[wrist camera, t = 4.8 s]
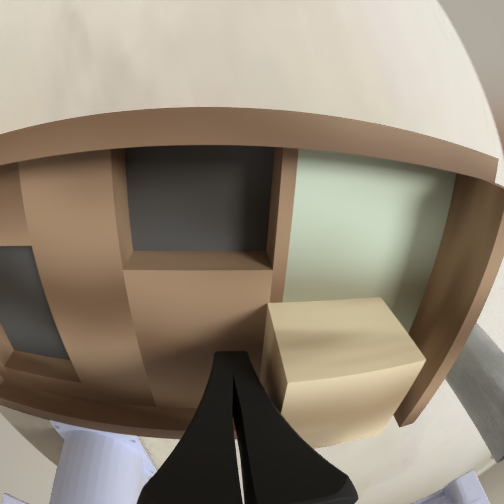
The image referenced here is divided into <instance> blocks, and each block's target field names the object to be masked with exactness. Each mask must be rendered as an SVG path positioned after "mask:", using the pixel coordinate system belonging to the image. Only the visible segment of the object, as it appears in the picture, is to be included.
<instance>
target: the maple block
mask: <svg viewBox="0 0 504 504" xmlns="http://www.w3.org/2000/svg"><path fill="white" fill-rule="evenodd" d="M425 361H426V358H425V357H424V356H423V354H422V353H421V351H420V350H419V348H418V347H417V346H416V344H415V343H414V341H413V340H412V339H411V337H410V336H409V334H408V333H407V332H406V330H405V329H404V328H403V326H402V325H401V323H400V322H399V321H398V319H397V318H396V317H395V315H394V314H393V313H392V311H391V310H390V309H389V307H388V306H387V305H386V303H385V302H384V301H383V300H382V298H381V297H374V298H360V299H345V300H328V301H308V302H283V303H267V314H266V324H265V334H264V344H263V354H262V364H261V373H260V382H261V384H262V386H263V387H264V389H265V391H266V392H267V394H268V396H269V397H270V399H271V400H272V402H273V403H274V405H275V406H276V408H277V409H278V411H279V412H280V413H281V415H282V416H283V417H284V418H285V420H286V421H287V422H288V423H289V424H290V426H291V427H292V428H293V429H294V430H295V431H296V432H297V433H298V435H299V436H300V437H301V438H302V439H303V440H304V441H305V442H306V443H308V444H309V445H310V446H311V447H312V448H313V449H314V448H320V447H326V446H331V445H336V444H341V443H346V442H350V441H355V440H359V439H363V438H367V437H371V436H375V435H378V434H380V433H381V432H382V430H383V429H384V427H385V426H386V425H387V423H388V422H389V420H390V419H391V417H392V416H393V414H394V413H395V411H396V410H397V408H398V407H399V405H400V404H401V402H402V401H403V399H404V397H405V396H406V394H407V393H408V391H409V389H410V388H411V386H412V384H413V383H414V381H415V379H416V378H417V376H418V374H419V372H420V371H421V369H422V367H423V365H424V363H425Z"/></svg>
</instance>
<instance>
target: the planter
mask: <svg viewBox="0 0 504 504" xmlns="http://www.w3.org/2000/svg"><path fill="white" fill-rule="evenodd" d="M445 379H446V381H447V382H448V384H449V385H450V387H451V388H452V390H453V391H454V393H455V394H456V396H457V397H458V399H459V400H460V402H461V403H462V405H463V407H464V408H465V410H466V411H467V413H468V415H469V416H470V418H471V419H472V421H473V423H474V424H475V426H476V428H477V429H478V431H479V433H480V434H481V436H482V438H483V440H484V441H485V443H486V445H487V446H488V448H489V450H490V452H491V454H492V455H493V457H494V459H495V461H496V462H497V463H500V462H501V461H503V460H504V353H503V352H502V351H501V349H500V348H499V347H498V346H497V345H496V344H495V343H494V341H493V340H492V339H491V338H490V337H489V336H488V335H487V334H486V332H485V331H484V330H483V329H482V328H481V327H480V326H479V325H478V324H477V323H476V324H475V326H474V328H473V330H472V332H471V333H470V335H469V337H468V339H467V341H466V343H465V345H464V347H463V348H462V350H461V352H460V354H459V356H458V357H457V359H456V361H455V362H454V364H453V366H452V367H451V369H450V371H449V372H448V374H447V376H446V377H445Z"/></svg>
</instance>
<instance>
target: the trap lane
mask: <svg viewBox="0 0 504 504" xmlns="http://www.w3.org/2000/svg"><path fill="white" fill-rule="evenodd" d="M497 166H498V158H495V157H492V156H490V155H487V154H484V153H481V152H479V151H476V150H473V149H470V148H467V147H464V146H461V145H458V144H454V143H451V142H448V141H444V140H441V139H438V138H434V137H430V136H427V135H423V134H419V133H415V132H411V131H407V130H403V129H399V128H394V127H390V126H385V125H380V124H375V123H370V122H365V121H359V120H353V119H347V118H341V117H335V116H328V115H320V114H312V113H304V112H294V111H283V110H271V109H255V108H230V107H184V108H160V109H145V110H132V111H122V112H113V113H104V114H97V115H90V116H83V117H77V118H71V119H65V120H60V121H54V122H49V123H45V124H40V125H35V126H31V127H27V128H23V129H19V130H15V131H11V132H7V133H4V134H0V405H2V406H5V407H8V408H11V409H14V410H17V411H20V412H23V413H27V414H30V415H33V416H37V417H40V418H44V419H48V420H52V421H56V422H60V423H64V424H68V425H73V426H78V427H82V428H88V429H93V430H99V431H105V432H111V433H118V434H126V435H134V436H143V437H155V438H169V439H181V438H182V436H183V434H184V433H185V431H186V429H187V428H188V426H189V424H190V422H191V420H192V418H193V416H194V414H195V412H196V410H197V408H198V406H199V403H200V401H201V399H202V396H203V394H204V391H205V388H206V385H207V383H208V380H209V376H210V373H211V369H212V365H213V359H214V353H215V352H217V351H246V352H247V353H248V355H249V358H250V361H251V363H252V366H253V368H254V370H255V372H256V374H257V376H258V378H259V380H260V373H261V364H262V354H263V344H264V334H265V324H266V314H267V303H283V302H308V301H328V300H345V299H360V298H374V297H381V298H382V300H383V301H384V302H385V303H386V305H387V306H388V307H389V309H390V310H391V311H392V313H393V314H394V315H395V317H396V318H397V319H398V321H399V322H400V323H401V325H402V326H403V328H404V329H405V330H406V332H407V333H408V334H409V336H410V337H411V339H412V340H413V341H414V343H415V344H416V346H417V347H418V348H419V350H420V351H421V353H422V354H423V356H424V357H425V358H426V361H425V363H424V365H423V367H422V369H421V371H420V372H419V374H418V376H417V378H416V379H415V381H414V383H413V384H412V386H411V388H410V389H409V391H408V393H407V394H406V396H405V397H404V399H403V401H402V402H401V404H400V405H399V407H398V408H397V410H396V411H395V413H394V414H393V415H394V417H395V419H396V421H397V423H398V425H399V427H402V426H406V425H409V424H412V423H414V421H415V420H416V419H417V418H418V416H419V415H420V414H421V412H422V411H423V409H424V408H425V407H426V405H427V404H428V403H429V401H430V400H431V398H432V397H433V395H434V394H435V392H436V391H437V389H438V388H439V386H440V385H441V383H442V382H443V380H444V379H445V377H446V376H447V374H448V372H449V371H450V369H451V367H452V366H453V364H454V362H455V361H456V359H457V357H458V356H459V354H460V352H461V350H462V348H463V347H464V345H465V343H466V341H467V339H468V337H469V335H470V333H471V332H472V330H473V328H474V326H475V324H476V322H477V319H478V317H479V315H480V313H481V311H482V309H483V307H484V304H485V302H486V300H487V298H488V295H489V293H490V291H491V288H492V286H493V283H494V281H495V278H496V275H497V273H498V270H499V267H500V265H501V262H502V259H503V256H504V187H503V186H501V185H499V184H496V183H495V177H496V172H497ZM233 429H234V439H237V435H236V430H235V425H234V419H233Z"/></svg>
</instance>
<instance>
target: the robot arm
mask: <svg viewBox="0 0 504 504" xmlns="http://www.w3.org/2000/svg"><path fill="white" fill-rule="evenodd" d="M233 419H234V425H235V430H236V435H237V441H238V446H239V451H240V458H241V469H242V480H243V490H244V501H245V504H354V503H355V502H356V501H357V500H358V495H357V492H356V489H355V487H354V485H353V483H352V482H351V480H350V478H349V477H348V475H346V474H345V473H343V472H342V471H340V470H339V469H338V468H336V467H335V466H333V465H332V464H331V463H329V462H328V461H327V460H326V459H324V458H323V457H322V456H321V455H320V454H318V453H317V452H316V451H315V450H314V449H313V448H312V447H311V446H310V445H309V444H308V443H306V442H305V441H304V440H303V439H302V438H301V437H300V436H299V435H298V433H297V432H296V431H295V430H294V429H293V428H292V427H291V426H290V424H289V423H288V422H287V421H286V420H285V418H284V417H283V416H282V415H281V413H280V412H279V411H278V409H277V408H276V406H275V405H274V403H273V402H272V400H271V399H270V397H269V396H268V394H267V392H266V391H265V389H264V387H263V386H262V384H261V382H260V380H259V378H258V376H257V374H256V372H255V370H254V368H253V366H252V363H251V361H250V358H249V355H248V353H247V352H246V351H217V352H215V353H214V359H213V365H212V369H211V373H210V376H209V380H208V383H207V385H206V388H205V391H204V394H203V396H202V399H201V401H200V403H199V406H198V408H197V410H196V412H195V414H194V416H193V418H192V420H191V422H190V424H189V426H188V428H187V429H186V431H185V433H184V434H183V436H182V438H181V439H180V441H179V443H178V444H177V446H176V447H175V449H174V450H173V451H172V453H171V454H170V455H169V457H168V458H167V459H166V461H165V462H164V463H163V465H162V466H161V467H160V468H159V470H158V471H157V470H156V468H155V467H154V465H153V463H152V461H151V460H150V458H149V456H148V454H147V452H146V451H145V449H144V447H143V445H142V443H141V441H140V439H139V437H138V436H134V435H126V434H118V433H111V432H105V431H99V430H93V429H88V428H82V427H78V426H73V425H68V424H64V423H60V422H56V421H52V420H49V422H50V423H51V425H52V426H53V427H54V429H55V430H56V431H57V432H58V434H59V435H60V436H61V437H62V438H63V440H64V443H63V447H62V451H61V454H60V458H59V462H58V466H57V470H56V475H55V479H54V484H53V488H52V493H51V498H50V503H49V504H243V503H242V496H241V489H240V481H239V474H238V466H237V457H236V448H235V439H234V429H233ZM149 477H152V478H151V479H150V480H149V481H148V478H149ZM2 504H28V503H26V502H24V501H21V500H19V499H17V498H15V497H13V496H10V495H9V494H7V493H4V496H3V500H2ZM411 504H490V502H489V500H488V498H487V496H486V494H485V492H484V490H483V487H482V485H481V483H480V481H479V479H478V477H477V475H476V473H475V471H474V470H470V471H469V472H467V473H465V474H464V475H462V476H460V477H458V478H457V479H455V480H453V481H452V482H450V483H449V484H447V485H446V486H445V487H444V488H443V489H441V490H439V491H437V492H435V493H433V494H431V495H429V496H427V497H425V498H422V499H420V500H418V501H416V502H414V503H411Z"/></svg>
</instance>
